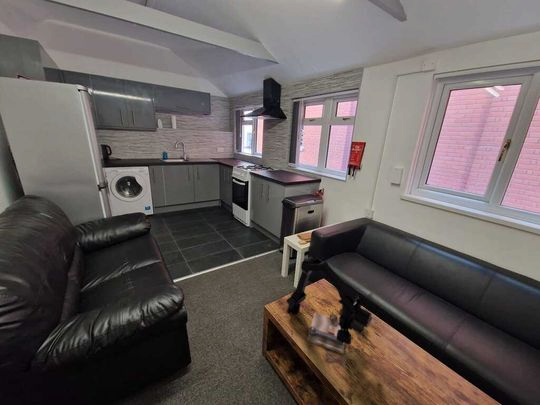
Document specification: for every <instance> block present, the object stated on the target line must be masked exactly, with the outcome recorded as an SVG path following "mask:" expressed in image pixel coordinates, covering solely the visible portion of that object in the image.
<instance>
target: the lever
mask: <svg viewBox="0 0 540 405" xmlns="http://www.w3.org/2000/svg"><path fill="white" fill-rule="evenodd" d="M341 330H343V329H341ZM309 334H310V335H316V336H319V337H321V338H324V339H327V340H329V341H332V342H335V343H338V344H340V345H343V344H344V345H345V343H341V342H340V341H338V340H337V337H336V336H333V335H331V334H328V333H325V332H322V331H319V330H317V329H315V328H314V327H311V326H309V329H308V335H309Z"/></svg>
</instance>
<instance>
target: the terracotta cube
mask: <svg viewBox="0 0 540 405" xmlns="http://www.w3.org/2000/svg"><path fill="white" fill-rule="evenodd" d="M334 332H335V330H332V329H329V332H328V334H331V335H333V336H334Z"/></svg>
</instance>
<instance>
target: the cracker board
mask: <svg viewBox="0 0 540 405" xmlns="http://www.w3.org/2000/svg"><path fill="white" fill-rule="evenodd" d="M338 318H339V316H338V315H337V314H334V313H330V314H329V316H327V315H323V314H320V313H317V312H314V313H313V317H312V320H311V325H310V327H314V328H315V329H317V330H319V331H322V332H325V333H328V332H329V329H332V330H335V332H334V336H336V337H337V331H338V330H341V328H340V325H339V319H338ZM307 341H308V342H311V343H313V344H316V345H318V346H321V347H323V348H327V349H328V350H331V351H334V352H337V353H339V354H342V355H344V351H345V343H344V344H343V345H340V344H338V343H335V342H332V341H329V340H327V339H324V338H321V337H319V336H316V335H310V334H309V333H308V337H307Z"/></svg>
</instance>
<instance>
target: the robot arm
mask: <svg viewBox="0 0 540 405" xmlns="http://www.w3.org/2000/svg"><path fill="white" fill-rule="evenodd" d="M300 270H301V273H300V277H299V279H298V281H297V282H298V283H297V285H296V289H295V290H294V291H293V292H292V293H291V294H290V296H289V297H288V298H287V299H286V303H287V304H288V307H287V311H286V312H287V313H290V314H292V315H296V316H297V315H298V314H299V312H300V311H301V303H302V302H303V301H305V300H306V297H307V295H308V294H307V293H306V292H305V290H306V287H307V285H308V282H309V279H310V276H311V274H312V273H313V272H321V274H323V276H325V278H326V279H327V280H328V281H329V282H330V284H332V286H333V287H334V288H335V289H336V290H337V291H338V295H339V300H338V303H339V304H340V305H341V308H340V310H339V316H338V320H339V325H340V328H341V329H343V330H338V331H337V340H338V341H340V342H341V343H344V344H347V345H351V344H352V334H351V332H350V331H349V330H351V331H352V330H354V331H356V332H357V333H358V334H360V335H361V334H362V333H363V332H364V331H365V328H366V329H368V327H369V326H370V325H371V323H372V320H373V316H372V313H371V312H370V311H367V310H365V309H363V308H362V306H363V303H362V301H361V298H360V295H359V292H358V291H357V290H356V289H355V288H354V287H352V286H351V285H348V284H347V283H346V282H344V281H343V279H342V278H341V277H339V275H338V274H337V273H336V272H335V271H334V270H333V268H331V266H330V265H329V262H327V261H325V260H321V259H319V258H315V257H313V256H309V257H307V258H306V259H304V260H303V261H302V262H301V266H300ZM355 302H357V303H356V304H355V305H354V303H355Z"/></svg>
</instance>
